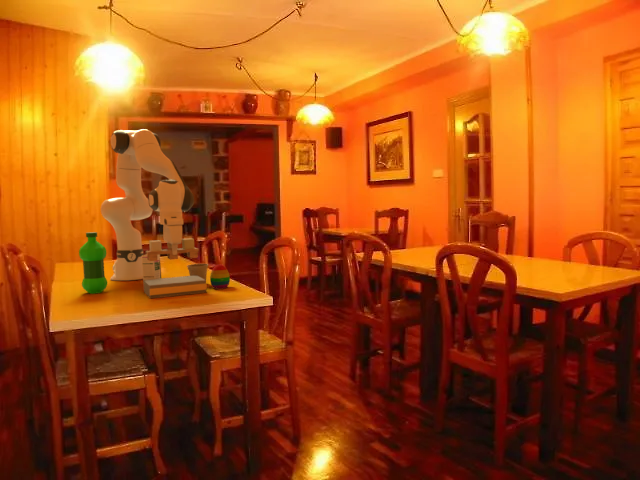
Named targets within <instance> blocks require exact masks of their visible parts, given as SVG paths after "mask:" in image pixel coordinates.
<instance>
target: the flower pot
mask: <svg viewBox="0 0 640 480" xmlns="http://www.w3.org/2000/svg"><path fill="white" fill-rule="evenodd" d="M186 267H187V270H188V273H189V276H194V275H197V276H199V277H201V278H203V279H204V280H206V281H207V273H208V267H209V264H208V263H194V264H193V263H192V264H191V263H190V264H188V265H186Z"/></svg>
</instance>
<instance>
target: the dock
mask: <svg viewBox="0 0 640 480" xmlns="http://www.w3.org/2000/svg"><path fill="white" fill-rule="evenodd" d="M142 280H143V279H142ZM142 282H144V284H143V292H144V294H145V296H147V297H148V298H149V299H155V298H156V299H158V298H159V299H160V298H165V297H166V298H167V297H177V296H185V295H197V294H204V293H207V290H208V286H207V279H206V280H204V279H203V278H201V277H199V276H197V275H194V276H190V275H185V276H174V277H173V276H172V277H163V278H162V277H161V278H160V279H149V280H143V281H142Z"/></svg>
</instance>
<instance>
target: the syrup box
mask: <svg viewBox="0 0 640 480" xmlns="http://www.w3.org/2000/svg"><path fill="white" fill-rule="evenodd" d="M142 270H143V279H142V280H149V279H160V278H162V266H161V254H158V255H157V261H149V260H147V254H146V253H145V254H143V255H142ZM142 282H143V281H142ZM143 285H144V282H143Z"/></svg>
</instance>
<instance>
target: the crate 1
mask: <svg viewBox="0 0 640 480" xmlns="http://www.w3.org/2000/svg"><path fill="white" fill-rule="evenodd" d="M148 246H149V251H151V252H154V251H162V250H163V249H162V240H159V239H157V240H149V245H148Z"/></svg>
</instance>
